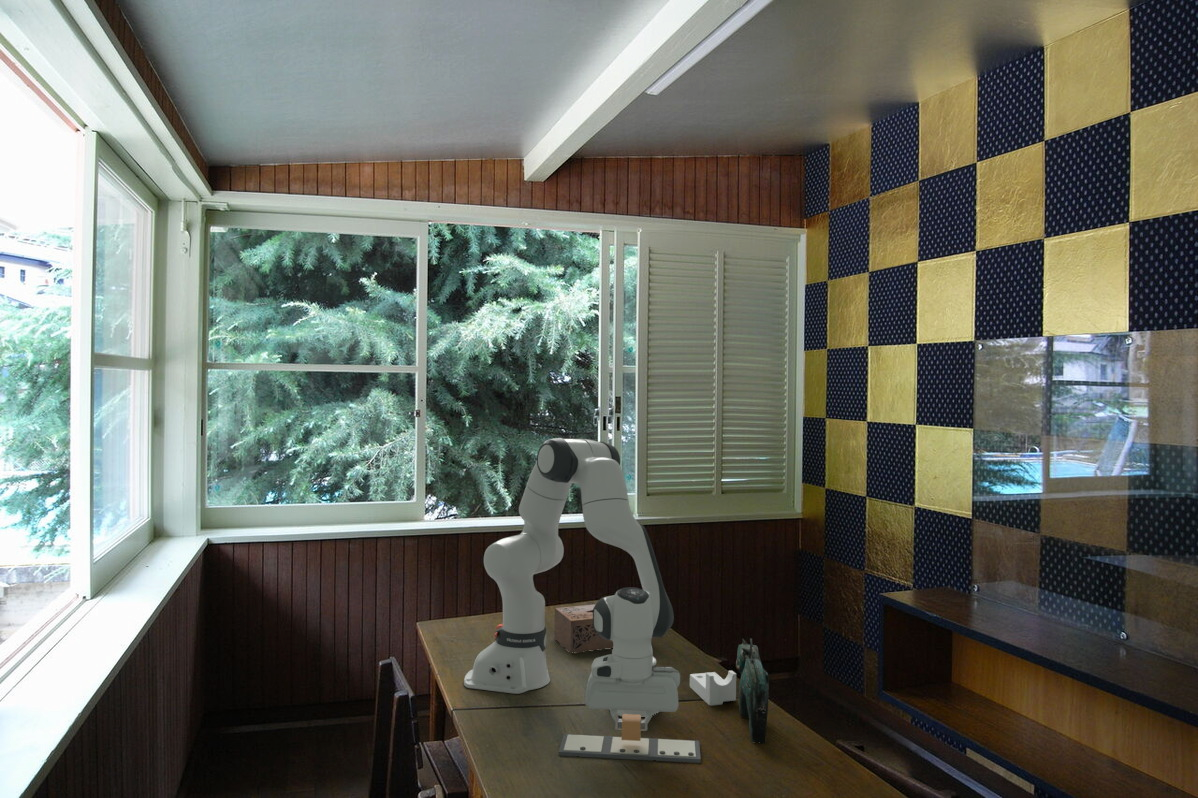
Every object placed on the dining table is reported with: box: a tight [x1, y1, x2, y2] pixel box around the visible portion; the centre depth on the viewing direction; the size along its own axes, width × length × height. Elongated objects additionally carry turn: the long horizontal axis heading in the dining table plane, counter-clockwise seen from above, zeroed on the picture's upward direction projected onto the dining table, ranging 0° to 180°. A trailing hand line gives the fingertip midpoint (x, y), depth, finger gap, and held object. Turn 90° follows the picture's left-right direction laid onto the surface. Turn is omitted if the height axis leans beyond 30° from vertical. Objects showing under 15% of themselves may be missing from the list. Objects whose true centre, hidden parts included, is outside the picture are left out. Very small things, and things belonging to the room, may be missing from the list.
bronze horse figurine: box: [735, 637, 770, 744], centre depth 191 cm, size 20×6×20 cm, turn 178°
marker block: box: [621, 714, 642, 741], centre depth 178 cm, size 4×4×4 cm
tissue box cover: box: [553, 603, 613, 654], centre depth 252 cm, size 26×14×10 cm, turn 112°
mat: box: [558, 733, 702, 764], centre depth 178 cm, size 30×9×1 cm, turn 85°
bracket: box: [689, 670, 737, 706], centre depth 210 cm, size 13×7×8 cm, turn 16°
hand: (631, 729), depth 178 cm, fingers closed on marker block, 4 cm apart
